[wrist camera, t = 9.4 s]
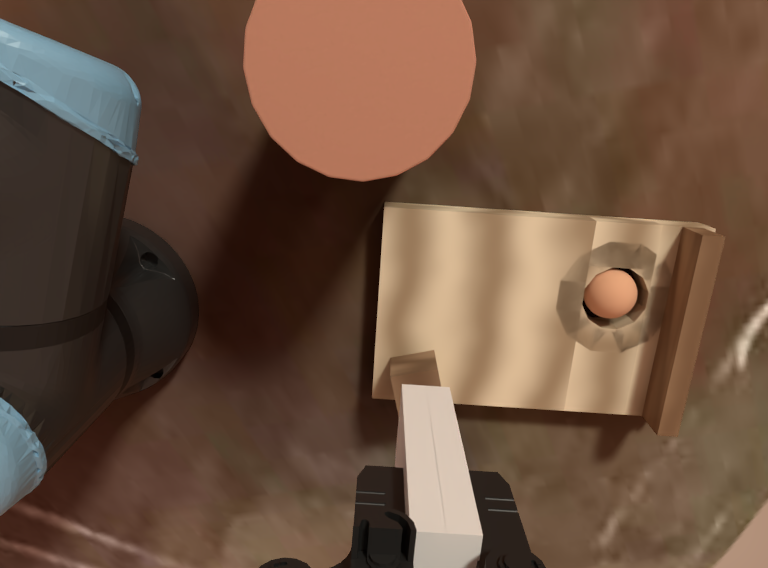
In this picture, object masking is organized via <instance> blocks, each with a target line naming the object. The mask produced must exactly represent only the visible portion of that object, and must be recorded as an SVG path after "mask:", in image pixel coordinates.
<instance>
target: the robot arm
mask: <svg viewBox="0 0 768 568" xmlns="http://www.w3.org/2000/svg"><path fill="white" fill-rule="evenodd" d="M140 114H141V97H140V93H139V90H138V88H137V86H136V84H135V83H134V82H133V80H132V79H131V78H130V76H129V75H128V74H127V73H125V72H124V71H123V70H122V69H120V68H118V67H116V66H114V65H112V64H110V63H108V62H105V61H103V60H100V59H98V58H96V57H93V56H91V55H88V54H86V53H83V52H81V51H79V50H76V49H74V48H71V47H69V46H66V45H64V44H62V43H59V42H57V41H54V40H52V39H49V38H47V37H44V36H42V35H39V34H37V33H35V32H32V31H30V30H27V29H25V28H22V27H20V26H17V25H15V24H12V23H10V22H7V21H5V20H2V19H0V516H1V515H2V514H4V513H5V512H6V511H7V510H8V509H10V508H11V507H12V506H13V505H14V504H16V503H17V502H18V501H19V500H20V499H22V498H23V497H24V496H25V495H27V494H29V493H30V492H32V491H33V490H34V489H35V488H36V487H37V486H38V485H39V484H40V482H41V481H42V480H43V478H44V475H45V474H46V473H47V472H48V471H49V470H50V469H51V467H52V466H53V465H54V464H55V463H56V462H57V461H58V460H59V459H60V458H61V457H62V456H63V455H64V453H65V452H66V451H67V450H68V449H69V448H70V447H71V446H72V445H73V444H74V443H75V442H76V441H77V439H78V438H79V437H80V436H81V435H82V434H83V433H84V432H85V431H86V430H87V429H88V428H89V427H90V425H91V424H92V423H93V422H94V421H95V420H96V419H97V418H98V417H99V416H100V415H101V414H102V413H103V411H104V410H105V409H106V408H107V407H108V406H109V405H110V404H111V403H112V402H113V400H116V399H119V398H122V397H125V396H127V395H130V394H133V393H136V392H139V391H141V390H144V389H146V388H148V387H150V386H152V385H154V384H155V383H157V382H158V381H160V380H161V379H163V378H164V377H165V376H166V375H167V374H169V373H170V372H171V371H172V369H173V368H174V367H175V366H176V365H177V364H178V363H179V361H180V360H181V359H182V358H183V356H184V355H185V354H186V352H187V351H188V349H189V347H190V346H191V344H192V341H193V339H194V336H195V333H196V330H197V325H198V316H199V307H198V298H197V293H196V289H195V286H194V283H193V280H192V278H191V275H190V273H189V271H188V269H187V268H186V266H185V264H184V263H183V261H182V260H181V258H180V257H179V256H178V254H177V253H176V252H175V251H174V250H173V249H172V247H171V246H170V245H169V244H168V243H167V242H165V241H164V240H163V239H162V238H161V237H159V236H158V235H157V234H155V233H154V232H152V231H151V230H149V229H148V228H146V227H144V226H142V225H140V224H138V223H136V222H133V221H131V220H128V219H125V218H123V216H124V211H125V205H126V200H127V194H128V189H129V183H130V178H131V172H132V167H133V165H137V164H138V156H137V154H136V153H135V151H136V144H137V136H138V129H139V122H140ZM259 568H310V566H309V565H308V564H307V563H304V562H302V561H300V560H298V559H293V558H280V559H275V560H271V561H269V562H267V563H265V564H263V565H261V566H260V567H259ZM331 568H546V567H545V566H544V564H543V562H542V561H541V560H540V559H539V558H538V557H537V556H535V555H534V554H533V553H531V550H530V547H529V544H528V541H527V538H526V535H525V532H524V529H523V526H522V523H521V520H520V516H519V513H517V507H516V504H515V501H514V498H513V495H512V492H511V489H510V486H509V484H508V483H507V482H506V481H505V480H504V479H503V478H502V477H501V475H500V474H499V473H498V472H483V471H468V467H467V462H466V458H465V453H464V449H463V445H462V440H461V436H460V431H459V427H458V422H457V418H456V414H455V409H454V405H453V400H452V396H451V391H450V387H439V386H423V385H408V384H402V387H401V398H400V410H399V421H398V432H397V444H396V455H395V467H382V466H365V468H364V469H363V470H362V471H361V473H360V474H359V475H358V477H357V489H356V502H355V515H354V526H353V537H352V548H351V551H350V553H349V554H348V556H347V557H346V558H345V559H344V560H343V561H342V562H341V563H339V564H337V565H335V566H334V567H331Z"/></svg>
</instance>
